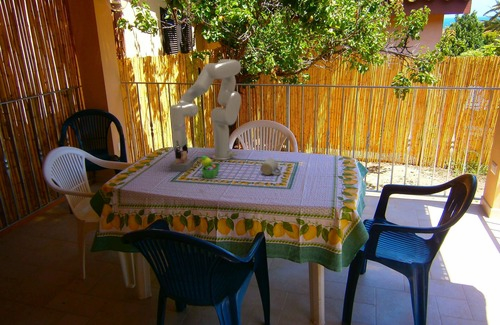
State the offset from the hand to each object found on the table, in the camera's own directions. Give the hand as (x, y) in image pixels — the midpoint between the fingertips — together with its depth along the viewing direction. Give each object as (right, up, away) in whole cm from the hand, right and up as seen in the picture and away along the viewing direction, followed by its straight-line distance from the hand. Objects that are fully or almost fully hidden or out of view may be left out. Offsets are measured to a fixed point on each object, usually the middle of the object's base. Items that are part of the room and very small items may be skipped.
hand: (182, 155), depth 217 cm
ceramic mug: (+51, -10, -10) cm, 53 cm away
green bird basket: (+17, -11, -10) cm, 23 cm away
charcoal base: (0, -7, +2) cm, 8 cm away
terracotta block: (0, -4, +1) cm, 4 cm away
